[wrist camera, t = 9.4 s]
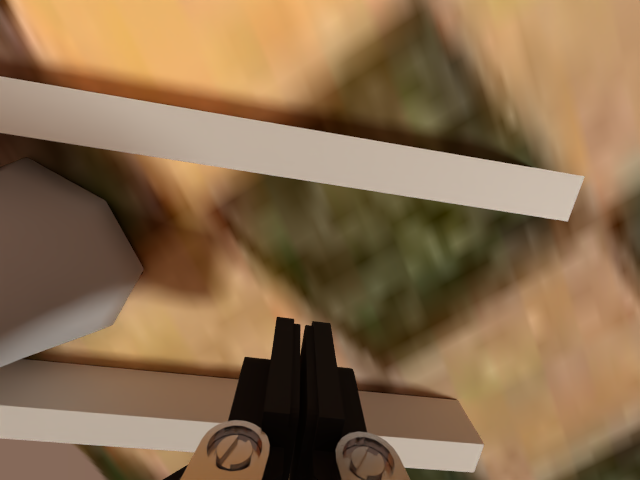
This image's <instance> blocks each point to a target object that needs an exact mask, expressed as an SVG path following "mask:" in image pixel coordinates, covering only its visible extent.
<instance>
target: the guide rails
mask: <svg viewBox="0 0 640 480" xmlns="http://www.w3.org/2000/svg"><path fill="white" fill-rule="evenodd" d="M0 133H4V134H11V135H17V136H24V137H30V138H36V139H43V140H49V141H56V142H62V143H68V144H75V145H81V146H88V147H94V148H101V149H107V150H113V151H120V152H126V153H133V154H139V155H145V156H152V157H158V158H165V159H171V160H178V161H184V162H190V163H197V164H203V165H210V166H216V167H222V168H229V169H235V170H242V171H248V172H254V173H261V174H267V175H274V176H280V177H287V178H293V179H299V180H306V181H312V182H319V183H325V184H331V185H338V186H344V187H351V188H357V189H363V190H370V191H376V192H383V193H389V194H396V195H402V196H408V197H415V198H421V199H428V200H434V201H440V202H447V203H453V204H460V205H466V206H472V207H479V208H485V209H492V210H498V211H505V212H511V213H517V214H524V215H530V216H537V217H543V218H549V219H556V220H562V221H568V219H569V217H570V214H571V211H572V209H573V206H574V203H575V201H576V198H577V195H578V193H579V190H580V187H581V185H582V182H583V179H584V177H585V176H579V175H573V174H567V173H561V172H555V171H550V170H544V169H538V168H532V167H526V166H520V165H515V164H509V163H503V162H497V161H491V160H485V159H480V158H474V157H468V156H462V155H456V154H451V153H445V152H439V151H433V150H427V149H421V148H416V147H410V146H404V145H398V144H392V143H386V142H381V141H375V140H369V139H363V138H357V137H351V136H346V135H340V134H334V133H328V132H322V131H316V130H311V129H305V128H299V127H293V126H287V125H281V124H276V123H270V122H264V121H258V120H252V119H246V118H241V117H235V116H229V115H223V114H217V113H211V112H206V111H200V110H194V109H188V108H182V107H176V106H171V105H165V104H159V103H153V102H147V101H141V100H136V99H130V98H124V97H118V96H112V95H106V94H101V93H95V92H89V91H83V90H77V89H71V88H66V87H60V86H54V85H48V84H42V83H36V82H31V81H25V80H19V79H13V78H7V77H1V76H0ZM238 381H239V379H229V378H218V377H207V376H197V375H186V374H176V373H165V372H154V371H144V370H133V369H123V368H112V367H101V366H91V365H80V364H70V363H59V362H48V361H38V360H27V359H20V360H17V361H15V362H12V363H10V364H7V365H5V366H2V367H0V438H3V439H17V440H31V441H44V442H59V443H72V444H86V445H100V446H114V447H128V448H142V449H156V450H169V451H183V452H195V451H196V449H197V447H198V445H199V443H200V441H201V440H202V438H203V437H204V436H205V434H206V433H207V432H208V431H209V430H210V429H212V428H213V427H214V426H216V425H218V424H221V423H223V422H226V421H228V419H229V415H230V411H231V407H232V403H233V400H234V396H235V392H236V388H237V384H238ZM358 393H359V397H360V402H361V406H362V411H363V415H364V420H365V424H366V429H367V432H368V433H371V434H374V435H377V436H379V437H380V438H382V439H384V440H385V441H387V442H388V443H389V444H390V445H391V446H392V447H393V448H394V449H395V451H396V452H397V454H398V456H399V457H400V459H401V461H402V464H403V466H404V467H406V468H419V469H433V470H447V471H461V472H474V471H475V468H476V465H477V463H478V460H479V457H480V455H481V452H482V449H483V447H484V443H483V442H482V440H481V438H480V437H479V435H478V433H477V431H476V430H475V428H474V426H473V425H472V423H471V421H470V420H469V418H468V416H467V415H466V413H465V411H464V410H463V408H462V406H461V404H460V403H459V401H458V400H451V399H440V398H430V397H419V396H409V395H398V394H388V393H377V392H366V391H358Z"/></svg>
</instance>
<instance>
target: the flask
mask: <svg viewBox="0 0 640 480" xmlns="http://www.w3.org/2000/svg"><path fill="white" fill-rule="evenodd" d="M143 270H144V268H143V267H142V265H141V263H140V261H139V259H138V258H137V256H136V254H135V252H134V251H133V249H132V247H131V245H130V243H129V242H128V240H127V238H126V236H125V234H124V233H123V231H122V229H121V227H120V226H119V224H118V222H117V220H116V218H115V217H114V215H113V213H112V211H111V210H110V208H109V206H108V204H107V202H106V201H105V200H103V199H101V198H100V197H98V196H96V195H94V194H92V193H91V192H89V191H87V190H85V189H83V188H81V187H80V186H78V185H76V184H74V183H72V182H71V181H69V180H67V179H65V178H63V177H62V176H60V175H58V174H56V173H54V172H53V171H51V170H49V169H47V168H45V167H44V166H42V165H40V164H38V163H36V162H34V161H33V160H31V159H29V158H27V157H26V158H23V159H20V160H18V161H15V162H13V163H10V164H8V165H5V166H3V167H0V367H2V366H5V365H7V364H10V363H12V362H15V361H17V360H20V359H22V358H25V357H27V356H30V355H33V354H36V353H39V352H41V351H44V350H47V349H50V348H52V347H55V346H58V345H61V344H63V343H66V342H69V341H72V340H74V339H77V338H80V337H83V336H85V335H88V334H91V333H94V332H96V331H99V330H101V329H104V328H106V327H109V326H111V325H113V324H114V322H115V320H116V318H117V316H118V315H119V313H120V311H121V309H122V307H123V306H124V304H125V302H126V300H127V298H128V297H129V295H130V293H131V291H132V289H133V288H134V286H135V284H136V282H137V280H138V279H139V277H140V275H141V273H142V271H143Z"/></svg>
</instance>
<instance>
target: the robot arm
mask: <svg viewBox="0 0 640 480" xmlns="http://www.w3.org/2000/svg"><path fill="white" fill-rule="evenodd" d="M289 473H290V477H289ZM288 479H289V480H410V479H409V476H408V474H407V472H406V470H405V468H404V466H403V464H402V461H401V459H400V457H399V456H398V454H397V452H396V451H395V449H394V448H393V447H392V446H391V445H390V444H389V443H388V442H387V441H385V440H384V439H382V438H380V437H379V436H377V435H374V434H371V433H368V432H367V429H366V424H365V420H364V415H363V411H362V406H361V402H360V397H359V393H358V388H357V384H356V379H355V375H354V371H353V369H351V368H342V367H337V363H336V357H335V350H334V344H333V337H332V331H331V325H330V323H323V322H315V321H313V322H312V326H309V325H306V326H305V330H304V336H303V342H302V348H301V354H300V324H294V319H290V318H281V317H277V320H276V327H275V334H274V341H273V348H272V355H271V360H269V359H259V358H250V357H245V358H244V362H243V365H242V369H241V373H240V377H239V381H238V384H237V388H236V392H235V396H234V400H233V403H232V407H231V411H230V415H229V419H228V421H226V422H223V423H221V424H218V425H216V426H214V427H213V428H212V429H210V430H209V431H208V432H207V433H206V434H205V436H204V437H203V438H202V440H201V441H200V443H199V445H198V447H197V449H196V451H195V453H194V455H193V456H192V458H191V460H190V462H189V464H188V465H187V466H185V467H183V468H182V469H180V470H178V471H177V472H175V473H173V474H172V475H170V476H168V477H167V478H165V479H163V480H288Z"/></svg>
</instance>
